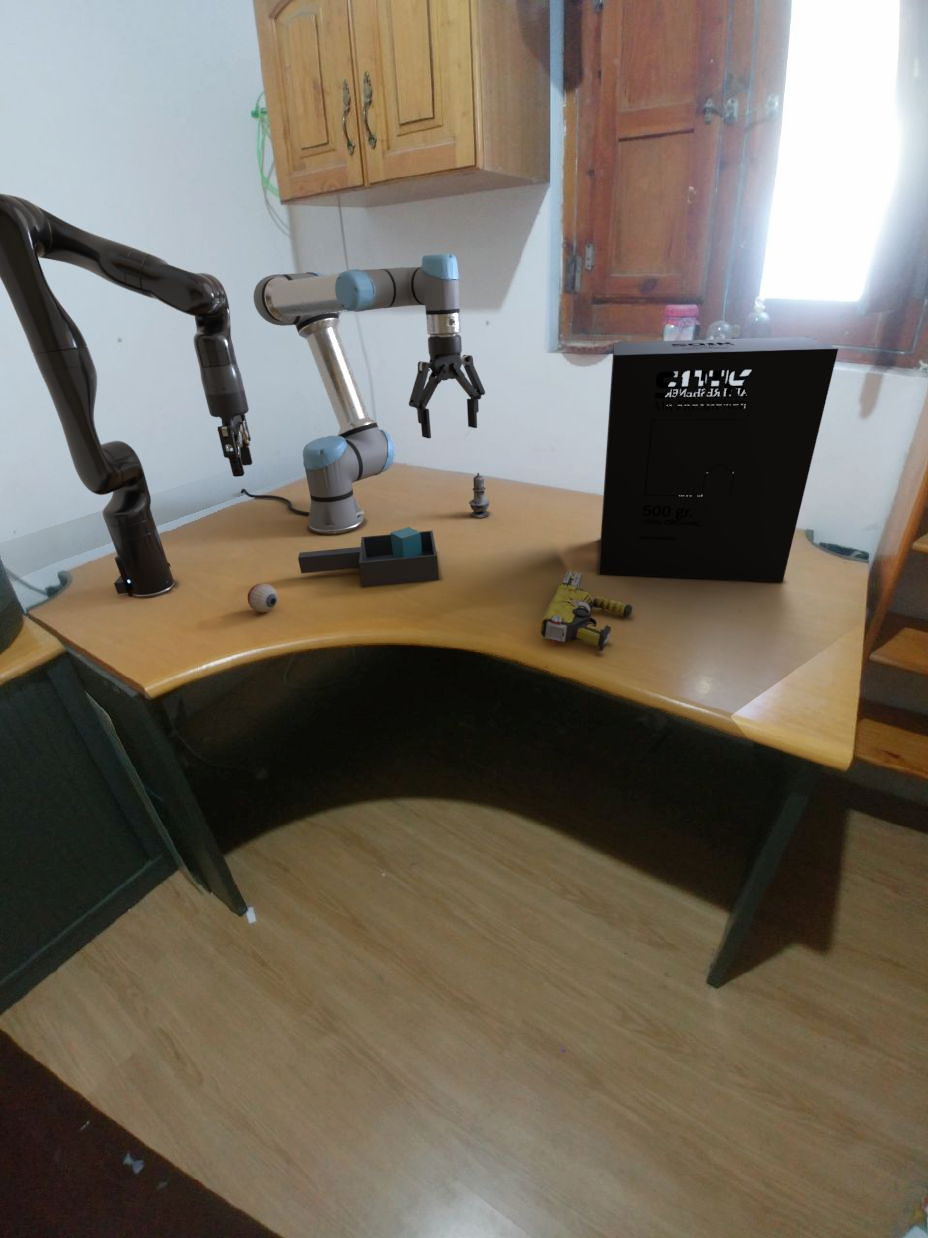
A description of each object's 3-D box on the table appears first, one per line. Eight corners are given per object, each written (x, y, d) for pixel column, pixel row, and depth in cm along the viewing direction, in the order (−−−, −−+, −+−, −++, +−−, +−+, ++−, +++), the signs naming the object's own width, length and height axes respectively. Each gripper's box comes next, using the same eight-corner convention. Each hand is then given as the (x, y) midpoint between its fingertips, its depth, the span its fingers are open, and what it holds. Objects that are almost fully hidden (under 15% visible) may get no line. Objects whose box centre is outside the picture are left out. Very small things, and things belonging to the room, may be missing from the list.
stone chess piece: (488, 518, 168) (487, 475, 162) (467, 517, 169) (465, 475, 163) (491, 510, 173) (490, 469, 167) (471, 510, 174) (469, 469, 168)
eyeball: (265, 620, 124) (259, 594, 121) (245, 613, 127) (238, 588, 124) (287, 607, 128) (281, 582, 125) (266, 601, 131) (260, 576, 128)
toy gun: (638, 581, 123) (566, 568, 127) (626, 636, 103) (540, 619, 107) (633, 601, 126) (563, 588, 130) (621, 659, 106) (537, 641, 110)
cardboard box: (762, 543, 144) (806, 336, 121) (782, 581, 126) (838, 348, 104) (600, 538, 151) (613, 342, 129) (599, 574, 134) (614, 354, 112)
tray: (434, 553, 149) (432, 530, 146) (439, 579, 136) (437, 555, 133) (307, 565, 147) (302, 542, 144) (299, 593, 134) (294, 568, 131)
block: (394, 564, 143) (390, 532, 139) (411, 557, 145) (408, 526, 141) (405, 570, 139) (401, 538, 135) (423, 564, 142) (420, 532, 138)
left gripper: (235, 393, 113) (255, 478, 121) (250, 382, 125) (267, 459, 134) (194, 396, 113) (217, 481, 121) (213, 384, 125) (232, 462, 133)
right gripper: (405, 341, 125) (414, 444, 136) (498, 330, 138) (500, 425, 148) (387, 339, 131) (397, 439, 141) (478, 328, 143) (481, 420, 154)
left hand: (243, 470), depth 127 cm, fingers open, 8 cm apart
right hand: (450, 432), depth 145 cm, fingers open, 13 cm apart
